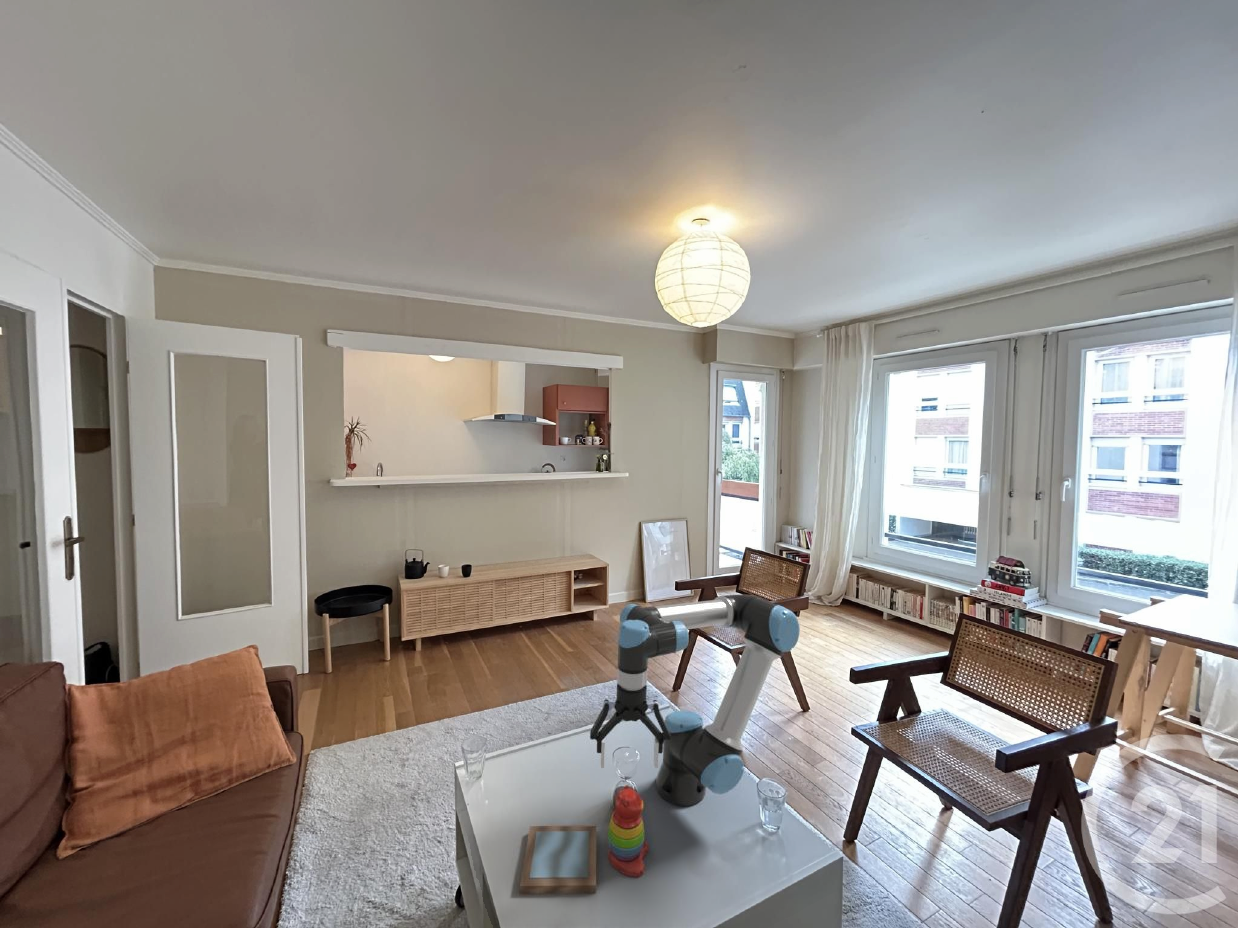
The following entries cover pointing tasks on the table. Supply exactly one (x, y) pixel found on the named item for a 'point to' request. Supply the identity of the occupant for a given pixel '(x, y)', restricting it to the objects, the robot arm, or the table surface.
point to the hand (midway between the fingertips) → (629, 764)
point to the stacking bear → (627, 834)
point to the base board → (560, 860)
